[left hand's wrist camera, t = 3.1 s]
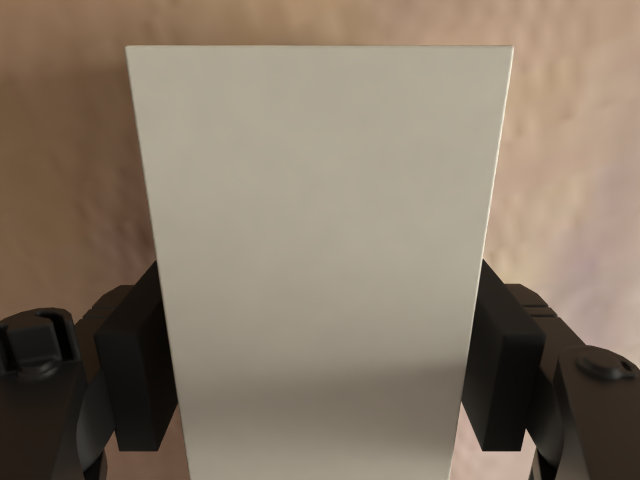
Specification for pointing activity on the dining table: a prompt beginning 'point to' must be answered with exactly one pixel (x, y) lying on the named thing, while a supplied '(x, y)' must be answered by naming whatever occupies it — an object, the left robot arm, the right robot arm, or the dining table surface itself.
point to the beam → (319, 247)
